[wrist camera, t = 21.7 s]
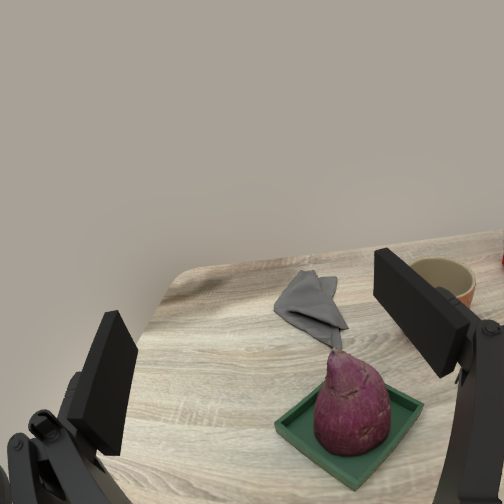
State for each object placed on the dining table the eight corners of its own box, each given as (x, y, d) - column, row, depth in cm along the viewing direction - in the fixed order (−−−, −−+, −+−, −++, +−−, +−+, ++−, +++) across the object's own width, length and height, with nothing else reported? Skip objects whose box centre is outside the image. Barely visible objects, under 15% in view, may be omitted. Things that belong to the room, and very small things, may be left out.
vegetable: (303, 442, 34) (255, 376, 30) (348, 389, 39) (315, 314, 35) (364, 474, 25) (331, 413, 21) (409, 409, 30) (393, 328, 26)
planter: (471, 347, 37) (488, 292, 32) (404, 360, 40) (414, 304, 35) (449, 303, 48) (458, 252, 43) (391, 311, 50) (394, 259, 46)
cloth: (278, 274, 70) (276, 265, 69) (337, 268, 68) (336, 259, 67) (268, 356, 48) (266, 346, 47) (352, 349, 45) (352, 339, 44)
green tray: (354, 491, 24) (356, 485, 23) (276, 432, 34) (273, 422, 33) (420, 414, 30) (424, 403, 29) (344, 372, 41) (344, 361, 40)
